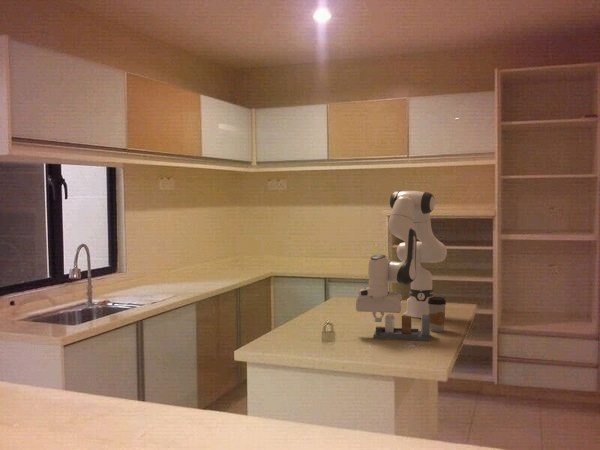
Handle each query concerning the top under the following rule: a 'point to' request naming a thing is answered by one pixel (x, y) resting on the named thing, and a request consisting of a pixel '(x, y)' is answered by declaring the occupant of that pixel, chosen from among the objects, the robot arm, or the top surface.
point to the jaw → (387, 324)
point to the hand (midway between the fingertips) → (378, 321)
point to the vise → (414, 335)
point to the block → (406, 324)
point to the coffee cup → (437, 313)
